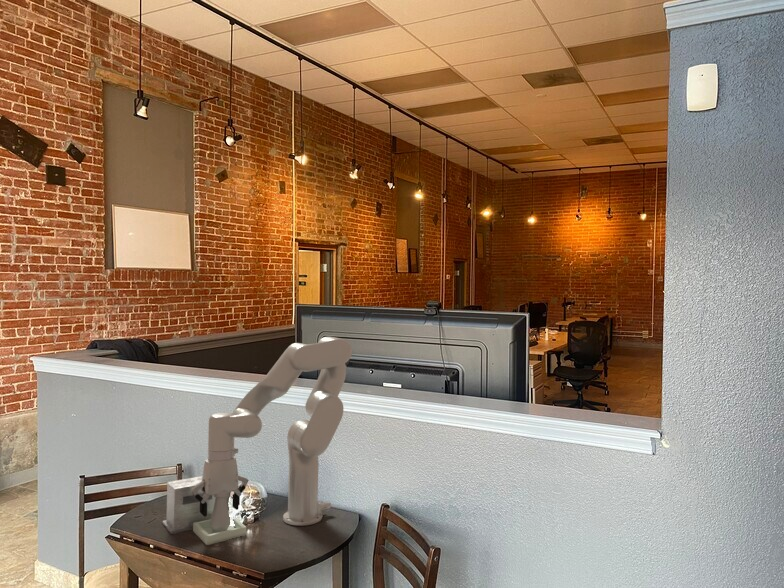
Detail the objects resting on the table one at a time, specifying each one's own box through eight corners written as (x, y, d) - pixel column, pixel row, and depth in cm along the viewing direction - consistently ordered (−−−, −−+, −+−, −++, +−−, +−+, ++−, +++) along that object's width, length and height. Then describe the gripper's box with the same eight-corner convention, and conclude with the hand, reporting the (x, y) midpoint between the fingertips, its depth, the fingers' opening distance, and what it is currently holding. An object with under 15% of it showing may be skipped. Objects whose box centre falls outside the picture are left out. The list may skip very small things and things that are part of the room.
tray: (231, 522, 178) (231, 514, 178) (246, 535, 169) (246, 526, 169) (193, 531, 171) (193, 522, 171) (206, 545, 162) (206, 536, 162)
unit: (212, 512, 186) (213, 473, 186) (223, 522, 178) (224, 481, 178) (162, 523, 177) (163, 481, 177) (171, 534, 169) (172, 490, 169)
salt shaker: (233, 531, 170) (235, 488, 170) (216, 537, 166) (218, 493, 166) (222, 525, 174) (224, 483, 174) (206, 530, 170) (207, 488, 169)
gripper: (243, 448, 178) (242, 502, 178) (188, 456, 168) (186, 513, 168) (253, 453, 172) (252, 509, 172) (196, 462, 162) (195, 522, 162)
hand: (219, 511), depth 170 cm, fingers open, 9 cm apart
